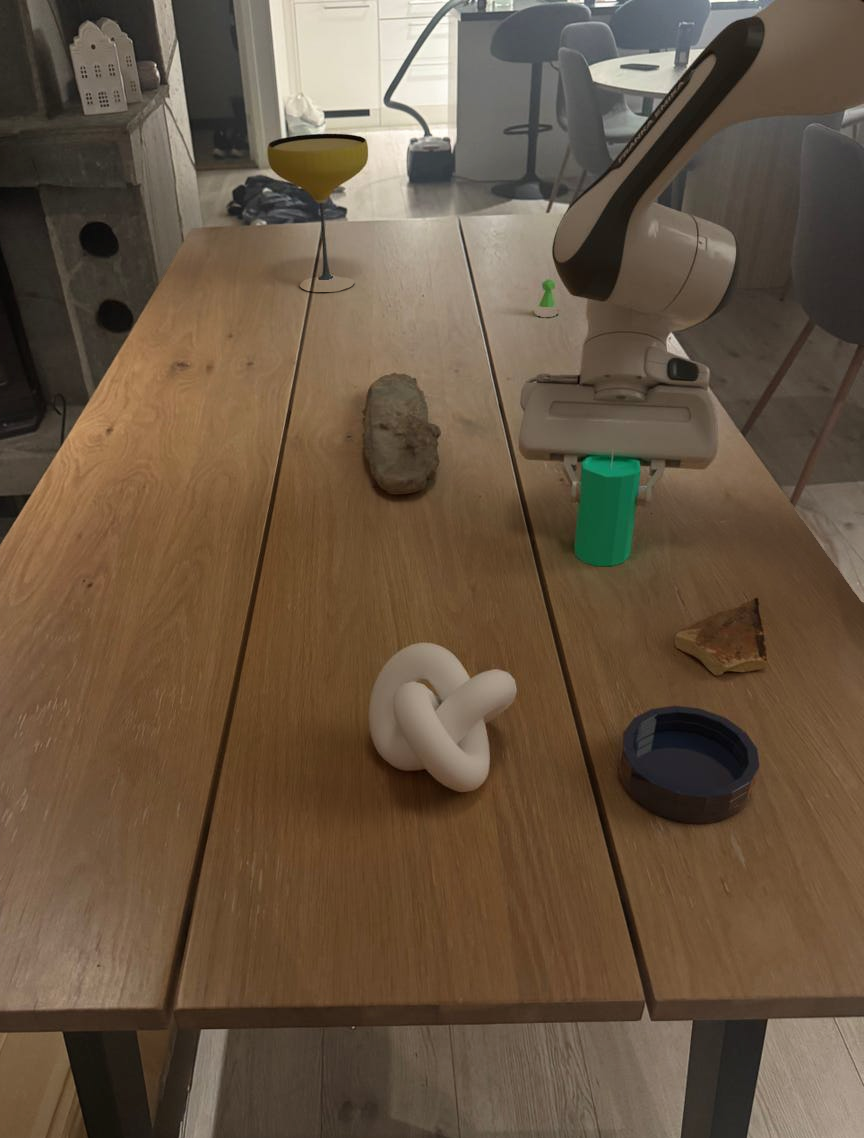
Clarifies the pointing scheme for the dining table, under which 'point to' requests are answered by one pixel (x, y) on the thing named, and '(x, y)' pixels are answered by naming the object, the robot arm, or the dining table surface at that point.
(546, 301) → the game piece
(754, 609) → the shard
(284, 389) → the dining table surface
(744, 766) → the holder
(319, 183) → the cocktail glass
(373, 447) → the elongated rock
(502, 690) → the white knot sculpture
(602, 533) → the candle
